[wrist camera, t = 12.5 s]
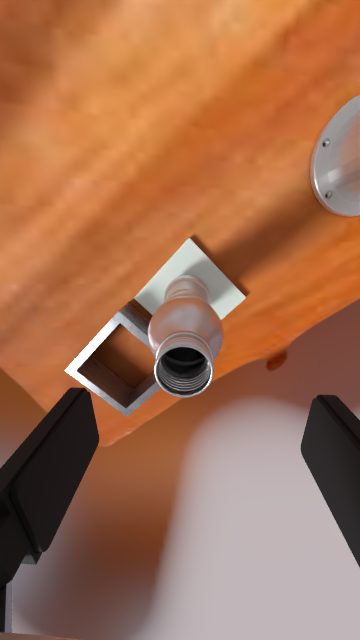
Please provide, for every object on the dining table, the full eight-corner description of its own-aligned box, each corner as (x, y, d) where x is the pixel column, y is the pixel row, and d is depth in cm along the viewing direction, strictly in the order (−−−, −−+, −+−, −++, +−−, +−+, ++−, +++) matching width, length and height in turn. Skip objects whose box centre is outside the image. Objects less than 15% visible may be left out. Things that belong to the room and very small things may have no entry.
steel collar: (128, 301, 33) (118, 311, 28) (184, 351, 35) (183, 367, 30) (81, 354, 36) (64, 370, 31) (134, 396, 39) (127, 416, 34)
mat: (189, 237, 29) (189, 237, 28) (244, 296, 31) (246, 297, 31) (135, 297, 32) (133, 298, 32) (189, 346, 35) (189, 348, 34)
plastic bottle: (209, 272, 30) (244, 318, 11) (207, 316, 32) (233, 418, 13) (165, 272, 30) (124, 317, 11) (166, 316, 32) (134, 415, 13)
